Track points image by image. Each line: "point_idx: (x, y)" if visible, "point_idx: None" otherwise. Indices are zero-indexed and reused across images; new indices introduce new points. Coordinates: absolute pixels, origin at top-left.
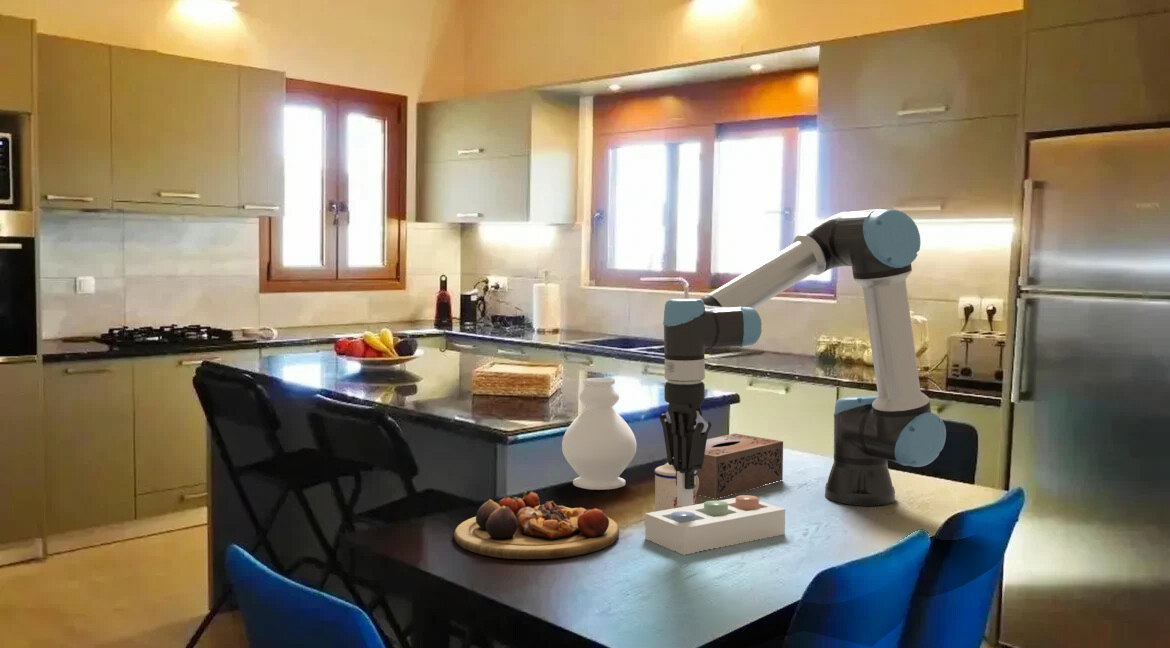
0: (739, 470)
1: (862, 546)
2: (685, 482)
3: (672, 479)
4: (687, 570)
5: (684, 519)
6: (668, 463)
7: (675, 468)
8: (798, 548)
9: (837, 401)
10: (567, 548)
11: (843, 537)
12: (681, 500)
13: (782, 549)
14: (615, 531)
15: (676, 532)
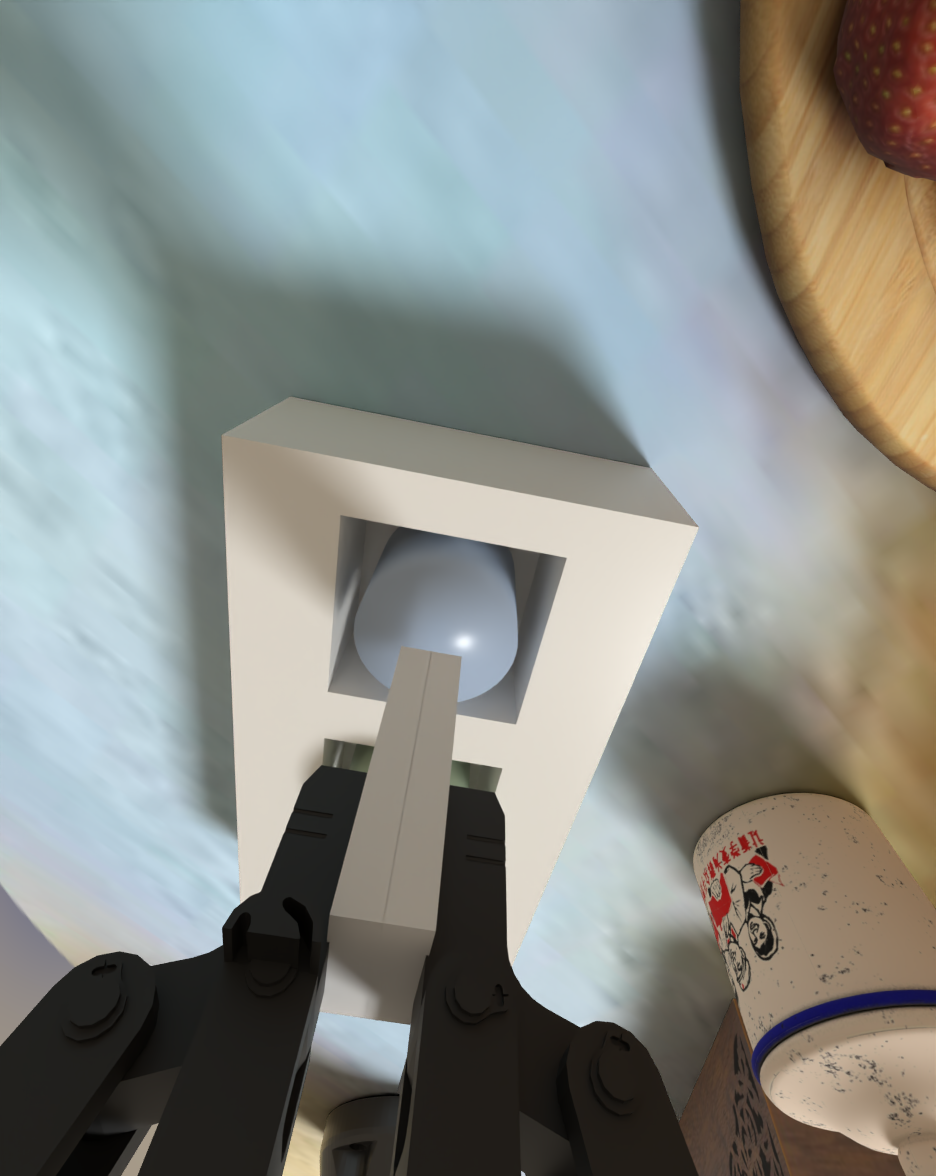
0: (733, 1165)
1: (52, 898)
2: (343, 825)
3: (843, 990)
4: (39, 169)
5: (373, 584)
6: (643, 1047)
7: (472, 972)
8: (121, 788)
9: None
10: None
11: (156, 927)
12: (399, 676)
13: (137, 750)
14: (810, 276)
15: (327, 438)
